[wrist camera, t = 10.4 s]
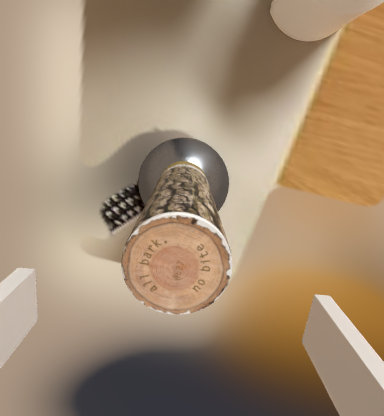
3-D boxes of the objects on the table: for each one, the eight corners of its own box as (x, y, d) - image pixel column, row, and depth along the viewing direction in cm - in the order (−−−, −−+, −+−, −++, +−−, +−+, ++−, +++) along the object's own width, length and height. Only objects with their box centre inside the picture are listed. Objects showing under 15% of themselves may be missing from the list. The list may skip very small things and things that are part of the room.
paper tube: (154, 198, 42) (109, 299, 18) (167, 153, 40) (136, 199, 16) (198, 212, 43) (211, 325, 19) (213, 168, 41) (248, 232, 17)
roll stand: (142, 132, 41) (118, 137, 27) (233, 142, 41) (256, 153, 27) (137, 219, 44) (113, 264, 30) (221, 228, 45) (236, 275, 31)
